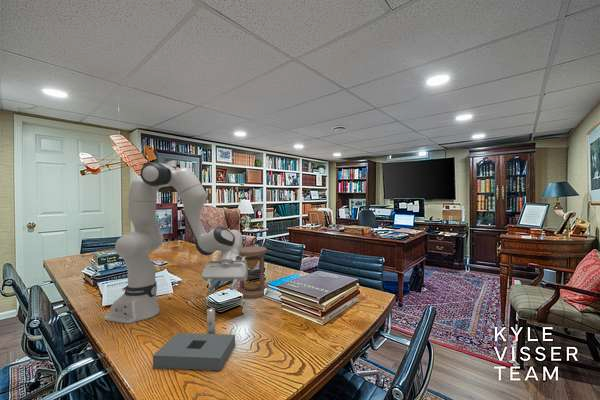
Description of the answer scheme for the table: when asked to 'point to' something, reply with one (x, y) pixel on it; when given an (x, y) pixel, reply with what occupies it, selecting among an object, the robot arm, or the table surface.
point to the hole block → (195, 351)
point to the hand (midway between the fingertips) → (220, 289)
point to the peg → (211, 321)
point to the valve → (213, 292)
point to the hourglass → (252, 287)
